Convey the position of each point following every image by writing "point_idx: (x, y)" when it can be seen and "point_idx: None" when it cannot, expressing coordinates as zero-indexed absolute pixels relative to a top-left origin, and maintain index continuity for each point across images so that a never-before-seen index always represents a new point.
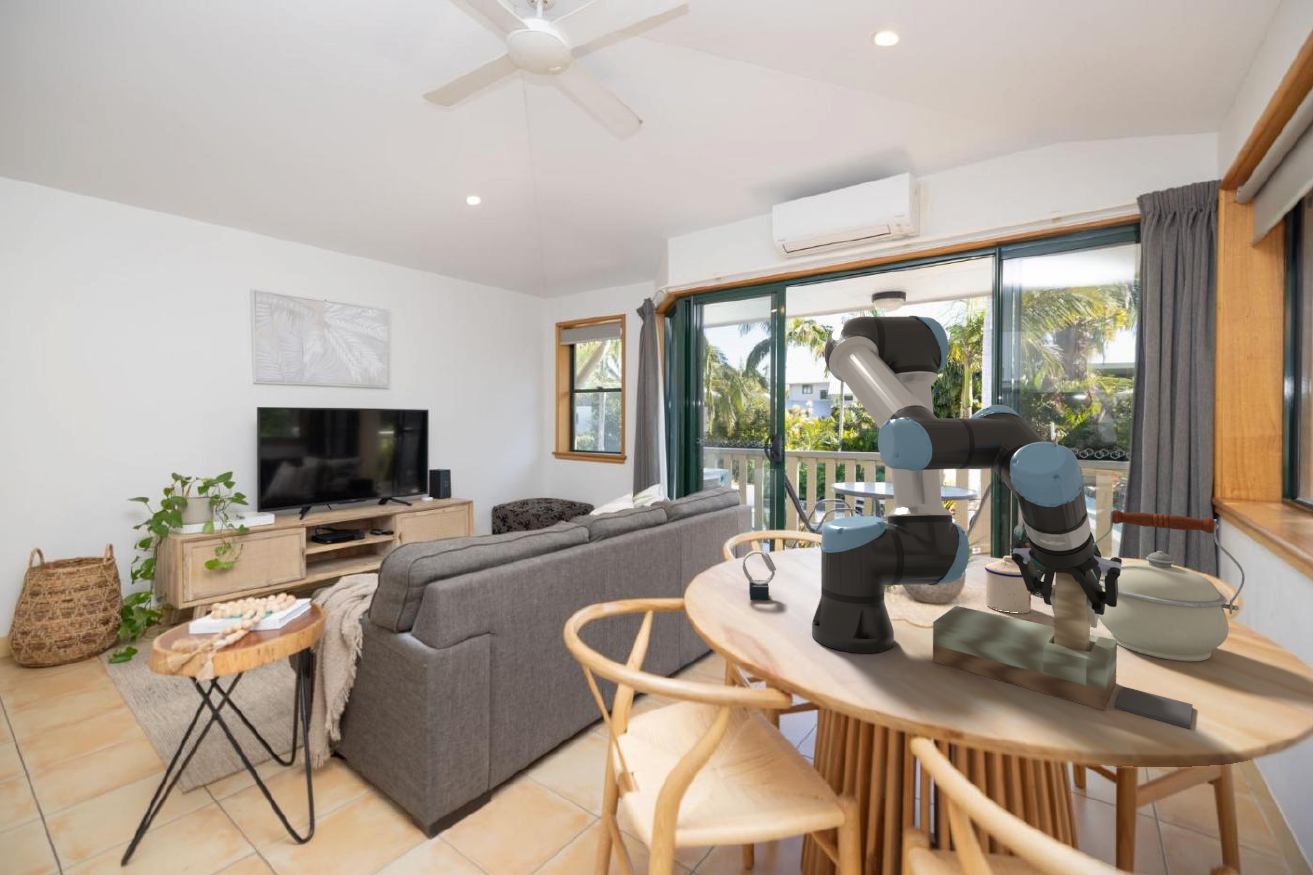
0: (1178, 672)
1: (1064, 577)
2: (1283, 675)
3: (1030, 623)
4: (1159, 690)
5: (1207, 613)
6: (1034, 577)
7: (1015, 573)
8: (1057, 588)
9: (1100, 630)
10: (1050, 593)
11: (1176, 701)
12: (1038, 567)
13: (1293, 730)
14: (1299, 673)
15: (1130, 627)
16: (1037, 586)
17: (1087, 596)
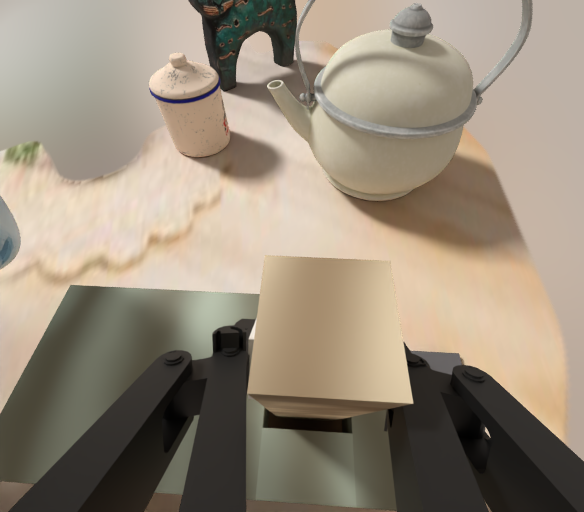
0: (407, 233)
1: (294, 401)
2: (483, 176)
3: (222, 304)
4: (407, 314)
5: (457, 131)
6: (156, 450)
7: (193, 94)
8: (268, 404)
9: (309, 154)
10: (246, 393)
11: (441, 358)
12: (229, 47)
13: (559, 345)
14: (490, 163)
15: (358, 179)
16: (192, 411)
17: (391, 461)
